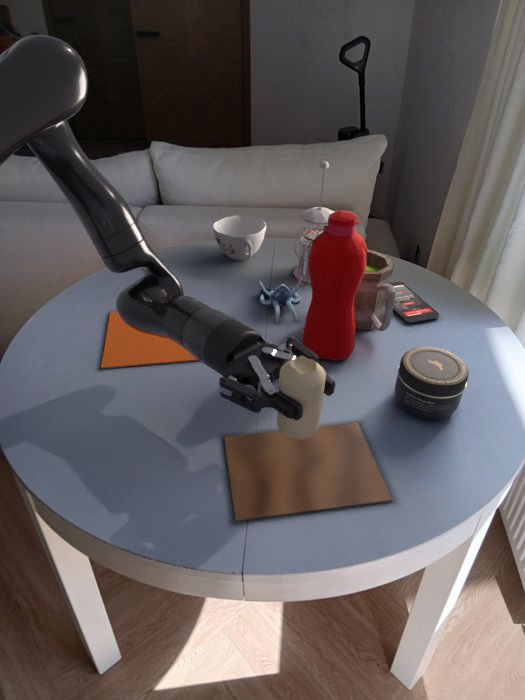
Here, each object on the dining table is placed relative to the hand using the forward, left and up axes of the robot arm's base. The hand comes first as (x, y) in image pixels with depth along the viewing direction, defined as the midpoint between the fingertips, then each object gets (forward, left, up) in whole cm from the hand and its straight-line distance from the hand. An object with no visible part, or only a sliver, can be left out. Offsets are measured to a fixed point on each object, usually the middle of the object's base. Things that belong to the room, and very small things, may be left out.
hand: (317, 400), depth 59 cm
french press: (+14, +55, -13) cm, 59 cm away
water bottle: (+9, +27, -13) cm, 32 cm away
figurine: (+4, +42, -13) cm, 45 cm away
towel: (-21, +35, -12) cm, 43 cm away
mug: (+19, +34, -13) cm, 41 cm away
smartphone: (+30, +40, -12) cm, 52 cm away
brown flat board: (-1, 0, -12) cm, 13 cm away
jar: (+21, +10, -13) cm, 27 cm away
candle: (-2, +2, -6) cm, 6 cm away
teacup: (-1, +66, -13) cm, 68 cm away
